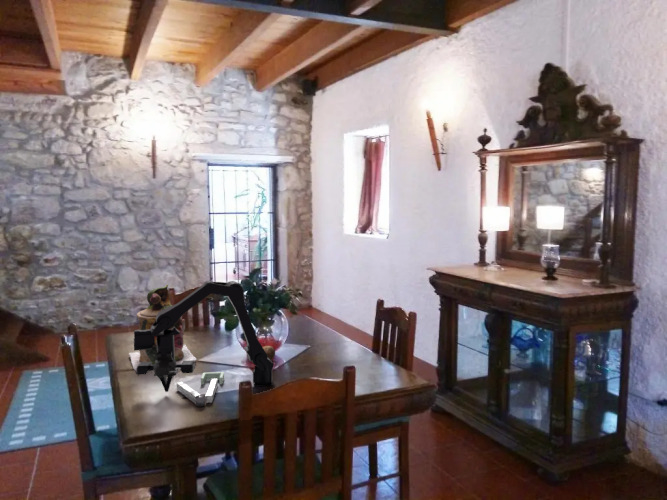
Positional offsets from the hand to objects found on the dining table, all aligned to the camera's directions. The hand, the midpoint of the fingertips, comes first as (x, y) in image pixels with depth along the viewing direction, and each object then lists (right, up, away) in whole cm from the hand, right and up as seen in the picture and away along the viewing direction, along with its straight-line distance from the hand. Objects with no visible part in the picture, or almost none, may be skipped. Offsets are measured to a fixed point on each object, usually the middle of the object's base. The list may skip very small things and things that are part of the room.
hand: (166, 391), depth 184 cm
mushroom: (+29, +2, +40) cm, 50 cm away
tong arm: (+9, -1, -3) cm, 9 cm away
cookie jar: (-14, +2, +39) cm, 42 cm away
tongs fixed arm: (+15, -1, +1) cm, 15 cm away
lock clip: (+13, 0, +13) cm, 18 cm away
